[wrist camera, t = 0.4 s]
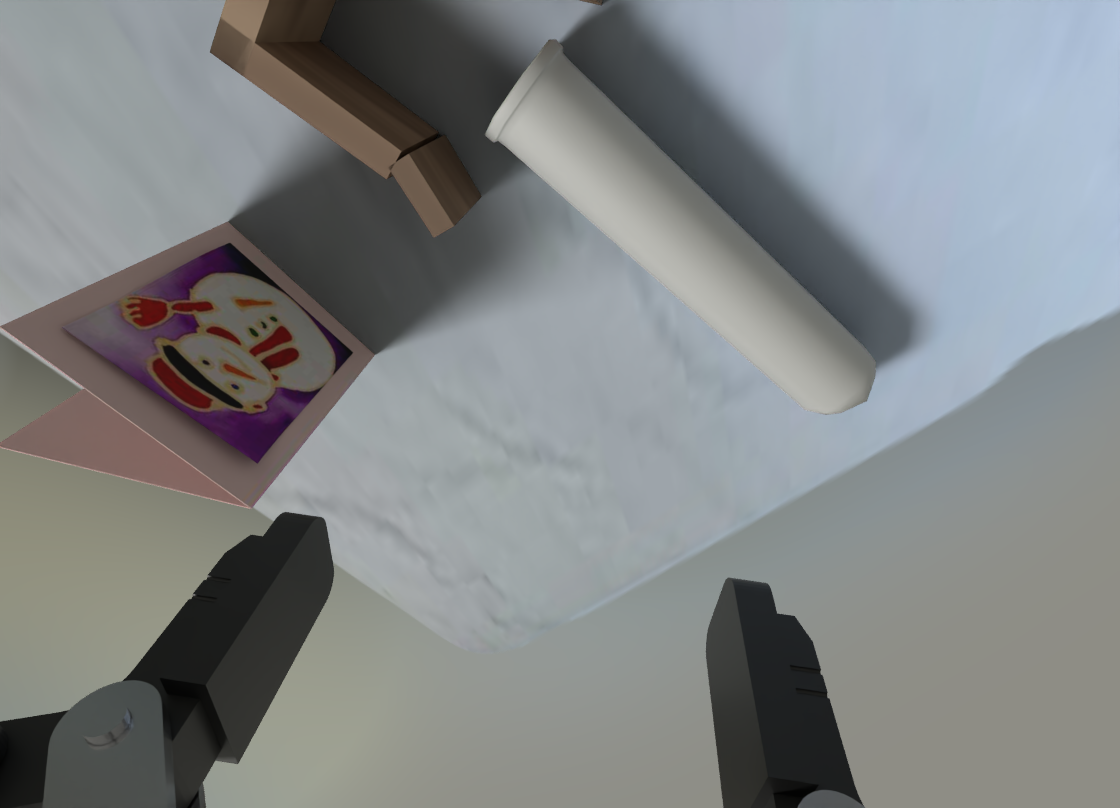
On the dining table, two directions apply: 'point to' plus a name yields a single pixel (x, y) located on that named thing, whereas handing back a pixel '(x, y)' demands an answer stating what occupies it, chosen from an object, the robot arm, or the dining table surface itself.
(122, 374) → the greeting card
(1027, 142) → the dining table surface
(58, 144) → the dining table surface
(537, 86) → the tube
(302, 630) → the robot arm
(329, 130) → the socket block
